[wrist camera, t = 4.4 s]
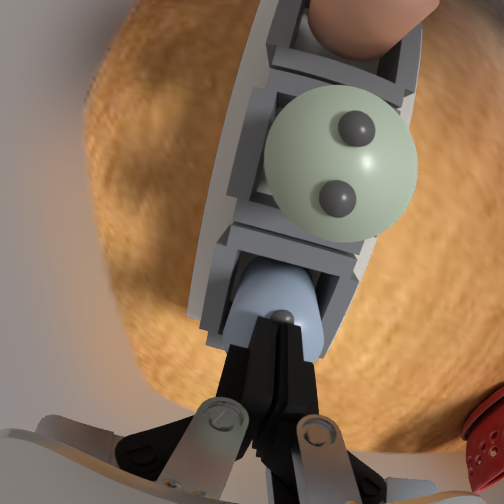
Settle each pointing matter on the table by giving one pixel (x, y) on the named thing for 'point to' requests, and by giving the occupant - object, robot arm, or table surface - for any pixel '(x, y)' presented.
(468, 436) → the plant pot
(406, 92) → the button board
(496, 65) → the table surface
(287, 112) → the button two pip
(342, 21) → the button one pip
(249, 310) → the button three pip
